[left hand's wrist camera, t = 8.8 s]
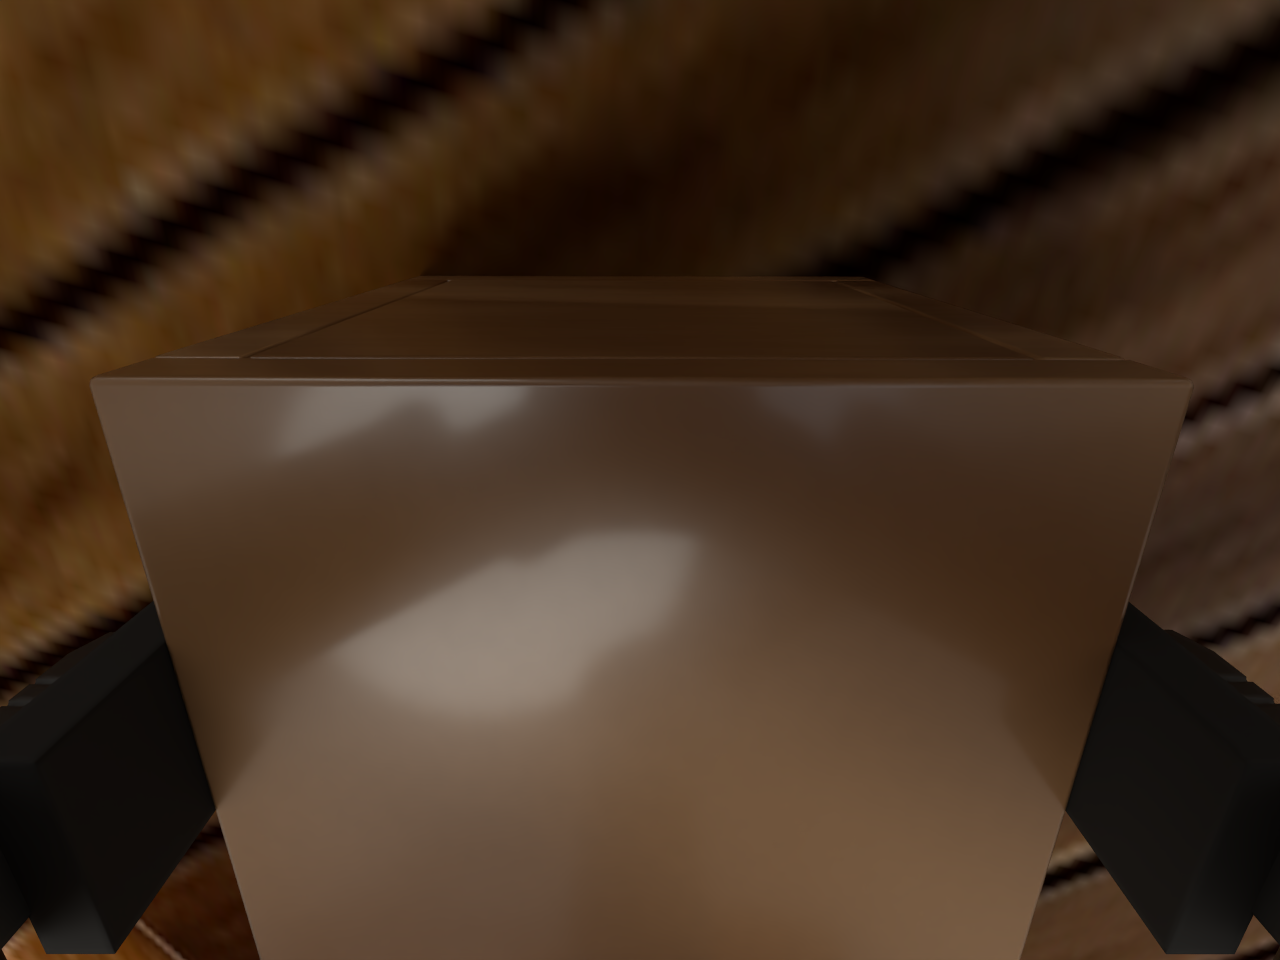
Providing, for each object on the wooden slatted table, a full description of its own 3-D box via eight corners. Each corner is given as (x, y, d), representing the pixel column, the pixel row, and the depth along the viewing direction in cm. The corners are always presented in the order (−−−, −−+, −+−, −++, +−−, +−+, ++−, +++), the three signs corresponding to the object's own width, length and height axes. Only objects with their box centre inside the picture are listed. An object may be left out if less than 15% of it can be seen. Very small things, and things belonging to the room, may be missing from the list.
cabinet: (793, 876, 26) (902, 1353, 15) (485, 875, 26) (374, 1351, 15) (863, 276, 18) (1200, 380, 7) (418, 275, 18) (82, 377, 7)
